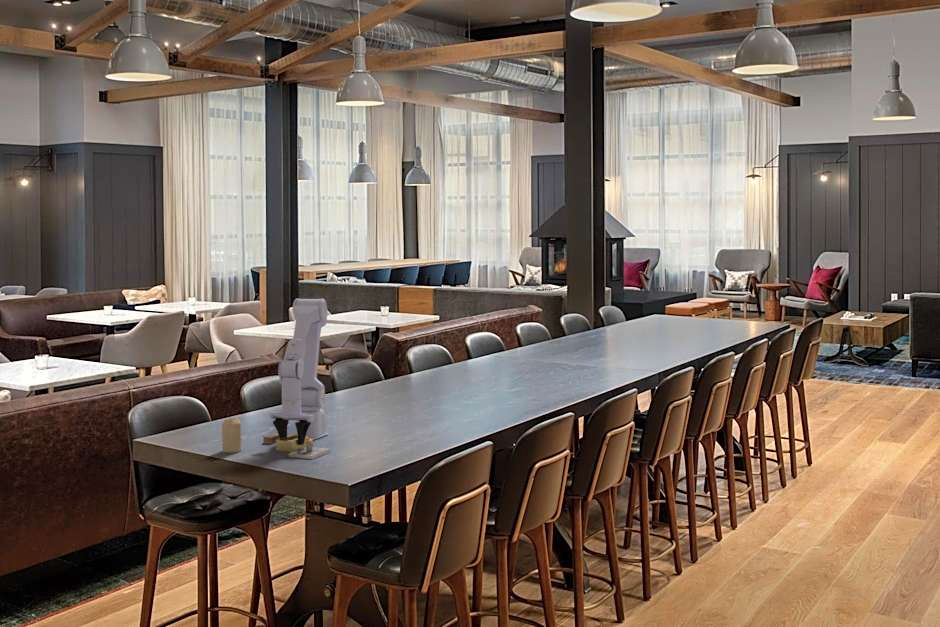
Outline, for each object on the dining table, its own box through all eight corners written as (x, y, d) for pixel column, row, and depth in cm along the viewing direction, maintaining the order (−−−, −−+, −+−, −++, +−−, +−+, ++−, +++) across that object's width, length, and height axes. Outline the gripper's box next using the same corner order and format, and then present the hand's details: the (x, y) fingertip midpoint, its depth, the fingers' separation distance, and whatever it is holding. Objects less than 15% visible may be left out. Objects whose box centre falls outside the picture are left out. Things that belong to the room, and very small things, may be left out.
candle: (243, 448, 306) (242, 416, 305) (239, 452, 301) (238, 419, 300) (224, 448, 306) (223, 416, 305) (220, 453, 301) (220, 419, 300)
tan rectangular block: (272, 439, 319) (272, 433, 318) (280, 440, 317) (280, 434, 317) (263, 443, 314) (263, 436, 314) (271, 443, 313) (271, 437, 313)
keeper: (307, 449, 305) (307, 434, 304) (330, 452, 302) (330, 437, 301) (288, 456, 296) (288, 441, 295) (312, 459, 292) (311, 444, 292)
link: (293, 444, 312) (292, 434, 312) (308, 445, 310) (308, 435, 310) (276, 450, 304) (275, 439, 304) (292, 452, 302) (291, 441, 301)
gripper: (263, 399, 305) (264, 444, 306) (304, 403, 299) (305, 448, 300) (277, 395, 311) (278, 439, 312) (317, 399, 305) (318, 443, 307)
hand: (292, 443), depth 307 cm, fingers closed on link, 6 cm apart
